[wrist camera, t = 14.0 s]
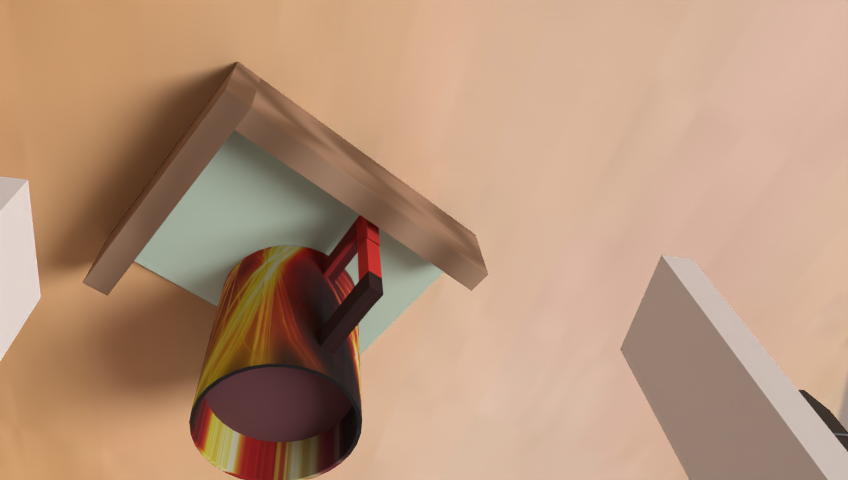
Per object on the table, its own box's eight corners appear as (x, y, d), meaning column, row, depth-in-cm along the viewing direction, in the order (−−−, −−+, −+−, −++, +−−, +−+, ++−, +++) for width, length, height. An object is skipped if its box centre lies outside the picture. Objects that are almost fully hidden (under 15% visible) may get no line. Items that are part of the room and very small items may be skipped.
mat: (128, 252, 46) (126, 256, 46) (245, 98, 41) (244, 101, 41) (340, 369, 53) (340, 374, 53) (460, 250, 49) (461, 254, 48)
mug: (377, 200, 45) (388, 310, 35) (348, 358, 52) (349, 487, 42) (228, 181, 43) (194, 291, 33) (218, 347, 50) (187, 479, 40)
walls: (106, 239, 45) (82, 282, 41) (237, 61, 40) (225, 89, 36) (340, 369, 53) (340, 416, 49) (475, 234, 48) (488, 274, 44)
